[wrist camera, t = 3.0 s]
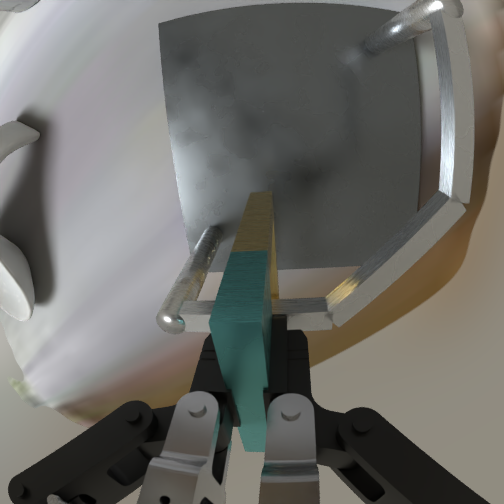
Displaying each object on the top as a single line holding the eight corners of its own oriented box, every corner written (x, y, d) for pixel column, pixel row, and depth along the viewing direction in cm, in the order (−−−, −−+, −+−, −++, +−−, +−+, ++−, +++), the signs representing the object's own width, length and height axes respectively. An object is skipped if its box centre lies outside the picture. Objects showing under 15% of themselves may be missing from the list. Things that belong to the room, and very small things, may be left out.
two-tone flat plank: (250, 192, 16) (208, 322, 6) (271, 191, 16) (261, 322, 6) (261, 301, 19) (245, 451, 10) (279, 300, 19) (274, 452, 10)
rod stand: (163, 27, 15) (76, -21, 5) (403, 17, 13) (485, -30, 3) (197, 266, 23) (151, 363, 14) (405, 256, 21) (464, 346, 12)
